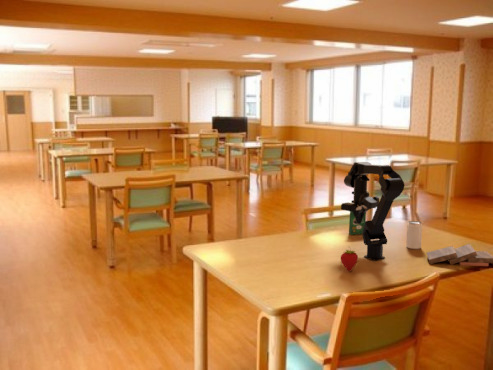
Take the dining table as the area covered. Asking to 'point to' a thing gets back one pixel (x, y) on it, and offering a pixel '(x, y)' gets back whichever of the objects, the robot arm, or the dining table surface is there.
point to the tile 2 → (463, 254)
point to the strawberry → (349, 259)
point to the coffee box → (356, 224)
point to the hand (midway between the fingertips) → (359, 223)
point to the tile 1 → (441, 254)
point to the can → (414, 235)
